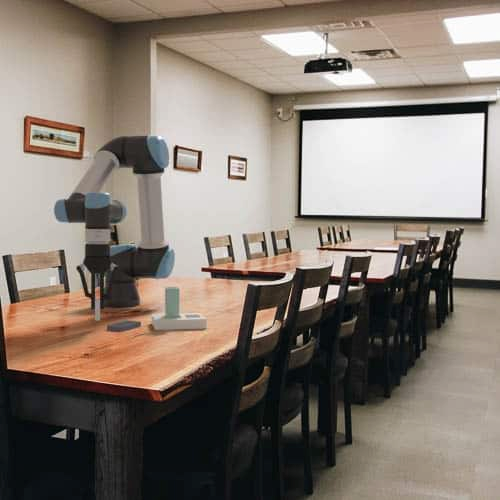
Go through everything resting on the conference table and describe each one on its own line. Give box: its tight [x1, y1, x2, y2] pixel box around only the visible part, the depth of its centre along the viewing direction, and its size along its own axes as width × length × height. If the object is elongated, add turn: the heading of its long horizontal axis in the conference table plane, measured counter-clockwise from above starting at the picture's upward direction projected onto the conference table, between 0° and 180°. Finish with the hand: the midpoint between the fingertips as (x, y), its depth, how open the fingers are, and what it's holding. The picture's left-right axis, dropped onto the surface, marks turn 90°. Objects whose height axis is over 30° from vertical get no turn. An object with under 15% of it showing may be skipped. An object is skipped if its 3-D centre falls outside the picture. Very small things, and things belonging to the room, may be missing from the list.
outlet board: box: [150, 312, 208, 331], centre depth 207 cm, size 12×16×3 cm
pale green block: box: [164, 286, 180, 318], centre depth 206 cm, size 4×4×12 cm
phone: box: [106, 319, 142, 333], centre depth 202 cm, size 10×6×2 cm, turn 156°
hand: (97, 319), depth 200 cm, fingers closed
